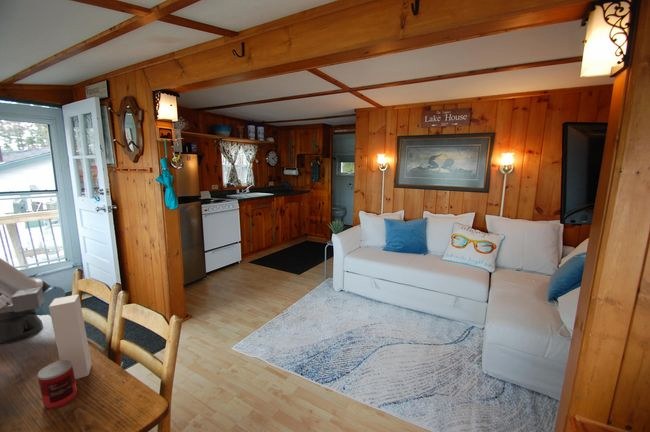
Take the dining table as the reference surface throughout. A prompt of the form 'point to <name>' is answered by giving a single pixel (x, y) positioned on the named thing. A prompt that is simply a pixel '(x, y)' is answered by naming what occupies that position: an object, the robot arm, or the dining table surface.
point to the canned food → (57, 384)
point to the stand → (71, 334)
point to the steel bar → (25, 300)
